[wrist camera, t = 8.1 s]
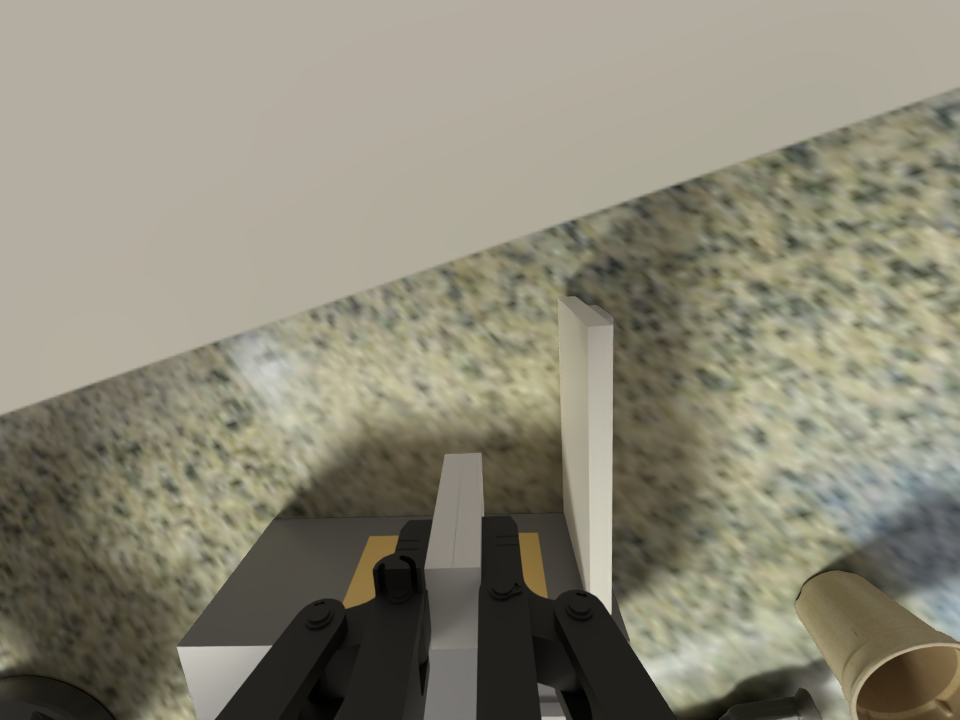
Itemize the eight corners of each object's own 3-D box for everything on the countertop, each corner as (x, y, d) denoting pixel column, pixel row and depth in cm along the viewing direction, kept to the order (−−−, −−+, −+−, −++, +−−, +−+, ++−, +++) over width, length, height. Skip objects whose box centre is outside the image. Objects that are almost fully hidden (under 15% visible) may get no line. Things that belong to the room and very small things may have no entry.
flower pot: (829, 532, 37) (928, 620, 28) (913, 584, 38) (1032, 684, 29) (751, 610, 39) (822, 713, 31) (833, 657, 40) (922, 768, 32)
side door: (557, 297, 31) (587, 326, 21) (587, 295, 31) (630, 323, 21) (563, 511, 35) (590, 615, 26) (589, 510, 35) (625, 614, 26)
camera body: (268, 633, 41) (172, 806, 29) (244, 519, 38) (123, 659, 25) (583, 629, 40) (624, 807, 28) (586, 511, 37) (634, 653, 24)
